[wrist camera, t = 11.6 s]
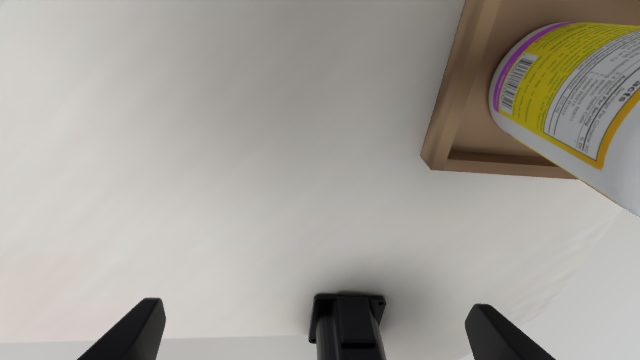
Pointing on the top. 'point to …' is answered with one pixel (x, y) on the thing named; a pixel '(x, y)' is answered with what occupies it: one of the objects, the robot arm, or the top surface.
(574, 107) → the supplement bottle
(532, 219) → the top surface
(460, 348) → the top surface
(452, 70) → the walnut tray
